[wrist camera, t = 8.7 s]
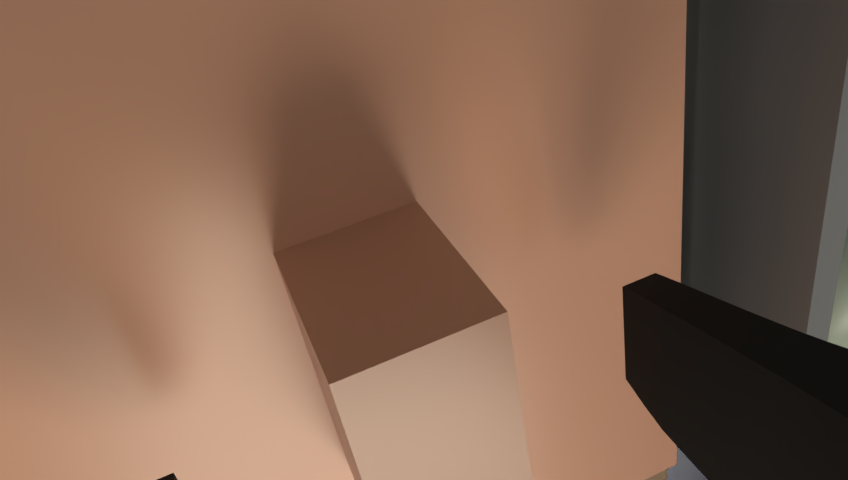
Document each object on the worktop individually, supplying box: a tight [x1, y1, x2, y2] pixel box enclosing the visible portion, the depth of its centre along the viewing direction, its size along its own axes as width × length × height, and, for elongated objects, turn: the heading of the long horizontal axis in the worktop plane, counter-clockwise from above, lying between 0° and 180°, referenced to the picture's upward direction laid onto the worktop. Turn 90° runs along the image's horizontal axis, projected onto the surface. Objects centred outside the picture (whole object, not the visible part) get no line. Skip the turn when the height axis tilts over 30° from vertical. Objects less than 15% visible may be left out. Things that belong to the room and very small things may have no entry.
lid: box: [0, 0, 687, 480], centre depth 13 cm, size 15×13×4 cm
